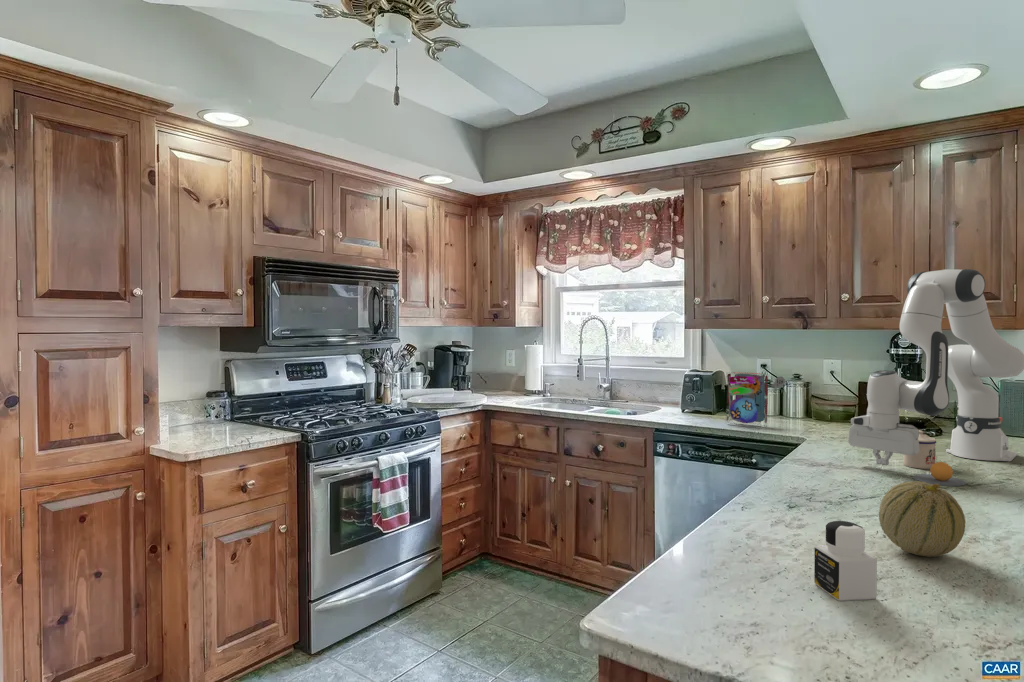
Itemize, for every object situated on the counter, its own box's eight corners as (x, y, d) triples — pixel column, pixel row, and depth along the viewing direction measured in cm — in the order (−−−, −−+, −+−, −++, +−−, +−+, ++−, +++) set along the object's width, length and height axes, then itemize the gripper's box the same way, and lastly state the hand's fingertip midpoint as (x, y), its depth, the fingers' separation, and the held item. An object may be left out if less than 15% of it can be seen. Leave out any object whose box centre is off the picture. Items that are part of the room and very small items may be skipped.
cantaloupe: (883, 535, 133) (884, 468, 133) (966, 551, 124) (967, 479, 124) (872, 556, 122) (873, 482, 122) (962, 574, 113) (963, 495, 112)
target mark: (925, 472, 188) (925, 472, 188) (974, 481, 177) (974, 481, 177) (904, 478, 181) (904, 478, 181) (954, 488, 170) (954, 487, 170)
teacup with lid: (932, 470, 190) (932, 434, 190) (899, 466, 197) (899, 430, 197) (941, 464, 199) (941, 429, 198) (908, 460, 205) (909, 426, 205)
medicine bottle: (813, 583, 109) (813, 518, 109) (850, 581, 110) (851, 516, 110) (837, 601, 102) (838, 531, 102) (877, 599, 103) (878, 530, 103)
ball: (931, 473, 183) (937, 457, 182) (952, 482, 179) (958, 465, 178) (924, 477, 180) (930, 460, 178) (945, 486, 176) (951, 469, 174)
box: (786, 428, 267) (787, 374, 266) (782, 430, 262) (782, 375, 262) (730, 423, 283) (730, 371, 282) (725, 425, 278) (725, 372, 278)
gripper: (923, 424, 185) (923, 469, 186) (856, 416, 202) (855, 457, 203) (913, 426, 182) (913, 472, 182) (845, 418, 199) (845, 459, 200)
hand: (882, 464), depth 193 cm, fingers closed
